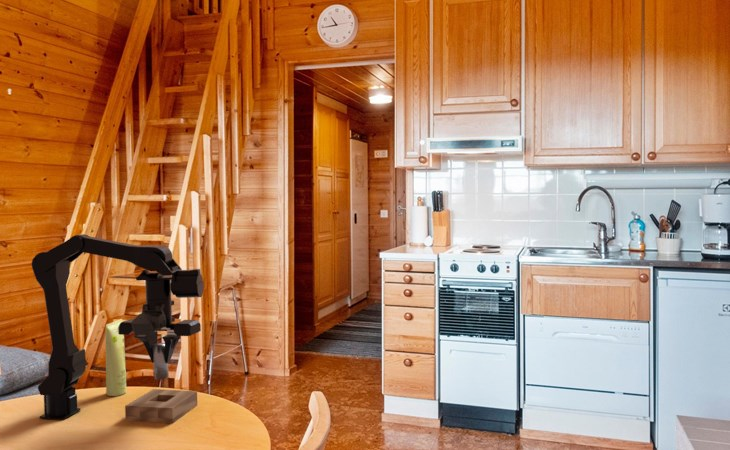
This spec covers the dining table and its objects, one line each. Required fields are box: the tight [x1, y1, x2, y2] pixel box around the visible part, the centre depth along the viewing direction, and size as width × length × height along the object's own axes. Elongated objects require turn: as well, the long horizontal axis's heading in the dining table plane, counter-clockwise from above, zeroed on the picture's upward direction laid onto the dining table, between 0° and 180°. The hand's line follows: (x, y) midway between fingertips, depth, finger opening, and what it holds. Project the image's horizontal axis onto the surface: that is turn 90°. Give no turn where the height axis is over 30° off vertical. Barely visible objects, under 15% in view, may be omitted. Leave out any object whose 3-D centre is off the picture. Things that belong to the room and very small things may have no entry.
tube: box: [105, 318, 127, 397], centre depth 153 cm, size 6×5×20 cm
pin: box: [153, 342, 170, 380], centre depth 138 cm, size 3×3×8 cm
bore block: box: [124, 388, 198, 424], centre depth 139 cm, size 12×12×4 cm
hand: (160, 362), depth 138 cm, fingers closed on pin, 3 cm apart
